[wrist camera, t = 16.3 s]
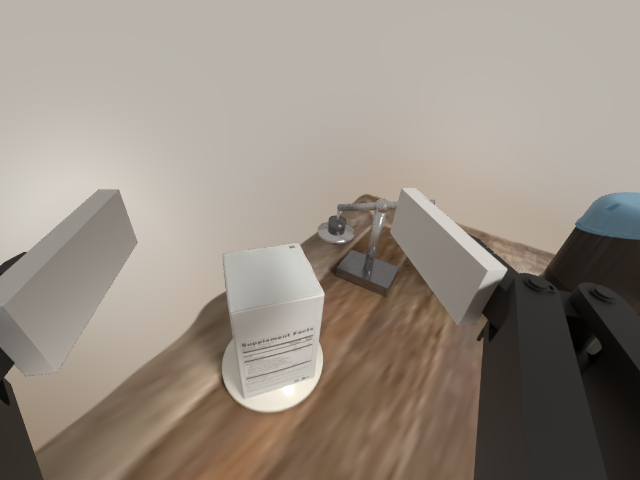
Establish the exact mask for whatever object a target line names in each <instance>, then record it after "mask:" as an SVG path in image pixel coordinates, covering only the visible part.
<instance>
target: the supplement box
mask: <svg viewBox="0 0 640 480" xmlns="http://www.w3.org/2000/svg"><path fill="white" fill-rule="evenodd" d="M223 265H224V276H225V286H226V295H227V302H228V309H229V315H230V322H231V328H232V335H233V341H234V347H235V353H236V359H237V364H238V370H239V376H240V381H241V387H242V394H243V398H244V399H249V398H252V397H255V396H258V395H261V394H264V393H268V392H271V391H274V390H277V389H280V388H283V387H287V386H290V385H293V384H296V383H299V382H302V381H305V380H309V379H312V378H314V376H315V367H316V359H317V351H318V343H319V335H320V327H321V319H322V311H323V303H324V291H323V289H322V287H321V286H320V284H319V282H318V280H317V278H316V276H315V274H314V272H313V270H312V266H311V264H310V263H309V261H308V260H307V258H306V256H305V254H304V252H303V250H302V248H301V246H300V244H299V243H291V244H285V245H279V246H272V247H264V248H257V249H248V250H239V251H233V252H227V253H223Z"/></svg>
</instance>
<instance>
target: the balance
mask: <svg viewBox="0 0 640 480" xmlns="http://www.w3.org/2000/svg"><path fill="white" fill-rule="evenodd" d="M429 201H430V202H431V203H433V204H434V205H435V200H429ZM397 204H398V202H388V201H387V200H386V199H379V200H377V201H376V203H359V204H339V205H338V207H337V208H338V212H337V216H331V217H330V218H329V222H326V223H323V224H321V225H320V226H319V227H318V232H317V234H318V237H319V238H320V239H321V240H322V241H324V242H326V243H329V244H333V245H344V244H348V243H350V242H351V241H352V240H353V239H354V234H355V232H354V230H353V228H352V227H350V226H349V225H347V224H346V219H345V218H344V217H341V216H339V213H340V211H360V210H375V215H374V219H373V224H372V229H371V234H370V238H369V243H368V248H367V253H366V255H365V254H362V253H359V252H357V251H354V250H351V251H350V252H349V253H348V255H347V256H346V257H345V258H344V259H343V261H342V262H341V263H340V264H339V265H338V267H337V268H336V276H337V277H340V278H342V279H345V280H347V281H349V282H352V283H354V284H356V285H359V286H361V287H364V288H366V289H368V290H371V291H373V292H375V293H378V294H380V295H383V296H385V297H386V295H387V293H388V291H389V289H390V287H391V285H392V283H393V281H394V279H395V277H396V275H397V272H398V269H399V267H397V266H394V265H392V264H389V263H386V262H384V261H381V260H378V259H375V258H376V254H377V249H378V245H379V241H380V237H381V233H382V228H383V224H384V220H385V216H386V212H387V211H388V210H389V209H396V208H397Z"/></svg>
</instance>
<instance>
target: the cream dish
mask: <svg viewBox="0 0 640 480" xmlns="http://www.w3.org/2000/svg"><path fill="white" fill-rule="evenodd" d="M322 366H323V353H322V349H321V346H320V343H318V351H317V359H316V367H315V376H314V378H312V379H309V380H305V381H302V382H299V383H296V384H293V385H290V386H287V387H283V388H280V389H277V390H274V391H271V392H268V393H264V394H261V395H258V396H255V397H252V398H249V399H244V398H243V394H242V387H241V381H240V376H239V370H238V364H237V359H236V353H235V347H234V341H233V339H232V340H231V342H230V343H229V345H228V346H227V348H226V350H225V353H224V356H223V360H222V375H223V379H224V384H225V386H226V389H227V391H228V393H229V394H230V396H231V397H232V398H233V399H234V401H236V402H237V403H238V404H239V405H241V406H242V407H244V408H246V409H248V410H250V411H253V412H257V413H265V414H271V413H279V412H283V411H286V410H289V409H291V408H293V407H295V406H297V405H298V404H300V403H302V402H303V401H304V400H305V399H306V398H307V397H308V396H309V395H310V394H311V393H312V392H313V390H314V389H315V387H316V386H317V384H318V382H319V379H320V376H321V372H322Z"/></svg>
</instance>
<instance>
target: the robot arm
mask: <svg viewBox="0 0 640 480" xmlns="http://www.w3.org/2000/svg"><path fill="white" fill-rule="evenodd" d="M575 225H576V227H575V228H574V230H573V231H572V233H571V234H570V236H569V237H568V238H567V240H566V241H565V243H564V244H563V246H562V247H561V248H560V250H559V251H558V253H557V254H556V255H555V257H554V258H553V260H552V261H551V262H550V264H549V265H548V267H547V268H546V270H545V271H544V272H543V273H542V274H541V275H539V276H536V275H532V274H528V273H520V274H519V273H518V272H516V271H515V270H514V269H513V268H512V267H511V266H509V265H508V264H507V263H506V262H505V261H504V260H502V259H501V258H500V257H499V256H498V255H497V254H494V252H493V251H492V250H491V249H490V248H487V246H486V245H485V244H484V243H483V242H481V241H480V240H479V239H477V238H476V237H474V236H472V235H470V234H468V233H466V232H465V231H463V230H462V229H461V228H460V227H459V226H458V225H457V224H455V223H454V222H453V221H452V220H451V219H450V218H449V217H447V216H446V215H445V214H444V213H443V212H442V211H441V210H439V209H438V208H437V207H436V206H435V205H434V204H433V203H431V202H430V201H429V200H428V199H427V198H426V197H425V196H423V195H422V194H421V193H420V192H419V191H418V190H417V189H415V188H402V189H401V192H400V196H399V200H398V204H397V208H396V212H395V216H394V220H393V223H392V227H391V231H390V233H391V235H392V236H393V237H394V239H395V240H396V242H397V243H398V244H399V246H400V247H401V248H402V250H403V251H404V253H405V254H406V255H407V257H408V258H409V259H410V261H411V262H412V264H413V265H414V266H415V268H416V269H417V270H418V272H419V273H420V275H421V276H422V277H423V279H424V280H425V281H426V283H427V284H428V286H429V287H430V288H431V290H432V291H433V292H434V294H435V295H436V297H437V298H438V299H439V301H440V302H441V303H442V305H443V306H444V308H445V309H446V310H447V312H448V313H449V314H450V316H451V317H452V319H453V320H454V321H455V323H456V324H457V325H458V326H464V325H472V324H476V322H477V321H478V319H479V317H480V316H481V314H482V313H483V314H484V316H485V317H486V318H487V319H488V321H487V323H486V325H485V326H484V328H483V329H482V331H481V333H480V334H479V336H478V338H477V341H480V340H481V338H483V337H484V341H483V355H482V369H481V383H480V397H479V412H478V426H477V440H476V454H475V468H474V480H640V193H627V192H626V193H614V194H609V195H605V196H602V197H600V198H598V199H597V200H596V201H595V202H593V203H592V205H591V206H590V207H589V209H588V210H587V211H586V213H585V214H584V215H583V216H582V217H581V218H580V219H578V220H577V222H576V223H575ZM136 244H137V239H136V237H135V234H134V231H133V229H132V226H131V223H130V220H129V217H128V214H127V211H126V208H125V206H124V203H123V200H122V197H121V194H120V191H119V190H97V191H96V192H95V193H94V194H93V195H92V196H91V197H89V198H88V199H87V200H86V201H85V202H84V203H83V204H82V205H80V206H79V207H78V208H77V209H76V210H75V211H74V212H72V213H71V214H70V215H69V216H68V217H67V218H66V219H65V220H63V221H62V222H61V223H60V224H59V225H58V226H57V227H56V228H54V229H53V230H52V231H51V232H50V233H49V234H48V235H47V236H45V237H44V238H43V239H42V240H41V241H40V242H38V243H37V244H36V245H35V246H34V247H33V248H32V249H31V250H29V251H28V252H23V253H21V254H19V255H17V256H15V257H13V258H12V259H10V260H8V261H6V262H4V263H3V264H2V265H1V266H0V480H43V477H42V474H41V471H40V468H39V466H38V463H37V460H36V457H35V454H34V451H33V448H32V445H31V442H30V439H29V436H28V434H27V431H26V428H25V424H24V422H23V419H22V416H21V413H20V410H19V407H18V404H17V401H16V398H15V395H14V392H13V389H12V386H11V384H10V383H9V382H8V381H7V380H6V379H5V378H4V377H5V375H6V374H7V373H8V371H9V370H10V369H11V367H12V366H13V365H15V366H16V367H17V368H18V369H19V370H20V371H21V372H22V373H23V374H24V375H25V376H33V375H41V374H50V373H57V372H58V370H59V369H60V367H61V365H62V364H63V362H64V360H65V359H66V357H67V356H68V354H69V352H70V351H71V349H72V348H73V346H74V344H75V343H76V341H77V339H78V338H79V336H80V334H81V333H82V331H83V330H84V328H85V327H86V325H87V323H88V322H89V320H90V318H91V317H92V315H93V314H94V312H95V310H96V309H97V307H98V305H99V304H100V302H101V301H102V299H103V298H104V296H105V294H106V293H107V291H108V289H109V288H110V286H111V285H112V283H113V281H114V280H115V278H116V277H117V275H118V273H119V272H120V270H121V269H122V267H123V265H124V263H125V262H126V260H127V259H128V257H129V255H130V254H131V252H132V251H133V249H134V247H135V246H136Z"/></svg>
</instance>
